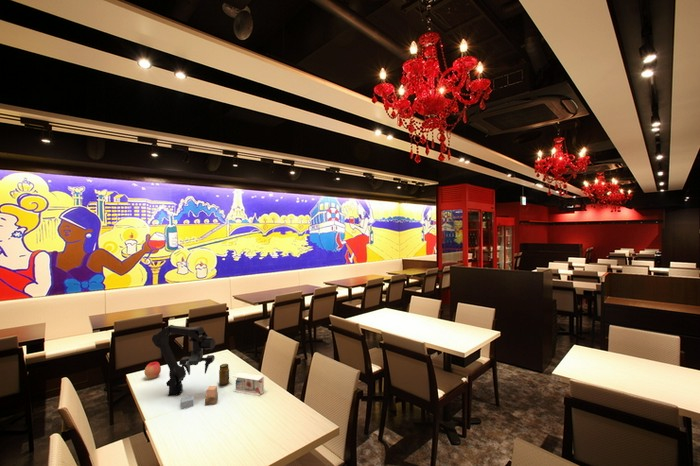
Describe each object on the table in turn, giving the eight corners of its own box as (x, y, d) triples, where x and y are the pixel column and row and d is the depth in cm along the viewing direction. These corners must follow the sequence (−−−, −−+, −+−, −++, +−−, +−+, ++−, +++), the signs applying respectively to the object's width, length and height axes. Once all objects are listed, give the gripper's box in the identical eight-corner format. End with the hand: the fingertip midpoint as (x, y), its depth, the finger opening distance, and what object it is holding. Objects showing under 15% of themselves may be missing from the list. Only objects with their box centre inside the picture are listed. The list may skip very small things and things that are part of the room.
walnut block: (204, 406, 175) (204, 399, 175) (206, 400, 181) (206, 393, 181) (216, 404, 177) (216, 397, 177) (217, 399, 183) (217, 392, 183)
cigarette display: (232, 391, 191) (232, 376, 191) (238, 387, 197) (238, 372, 197) (260, 396, 185) (260, 380, 185) (265, 391, 191) (265, 376, 191)
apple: (145, 376, 214) (145, 361, 214) (161, 373, 218) (161, 359, 218) (143, 382, 205) (143, 367, 206) (160, 379, 209) (159, 364, 210)
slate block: (181, 409, 172) (181, 402, 172) (180, 404, 177) (180, 397, 177) (193, 406, 175) (193, 399, 175) (192, 401, 180) (192, 394, 180)
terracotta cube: (206, 397, 177) (206, 390, 177) (209, 393, 181) (209, 386, 181) (214, 397, 177) (214, 389, 177) (217, 393, 182) (217, 385, 182)
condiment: (228, 380, 207) (227, 362, 207) (232, 384, 200) (232, 366, 200) (216, 383, 202) (216, 365, 202) (220, 388, 196) (220, 369, 196)
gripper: (175, 354, 179) (175, 381, 179) (209, 352, 182) (209, 378, 182) (182, 347, 190) (182, 372, 190) (214, 345, 193) (214, 370, 193)
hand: (197, 374), depth 188 cm, fingers open, 9 cm apart
